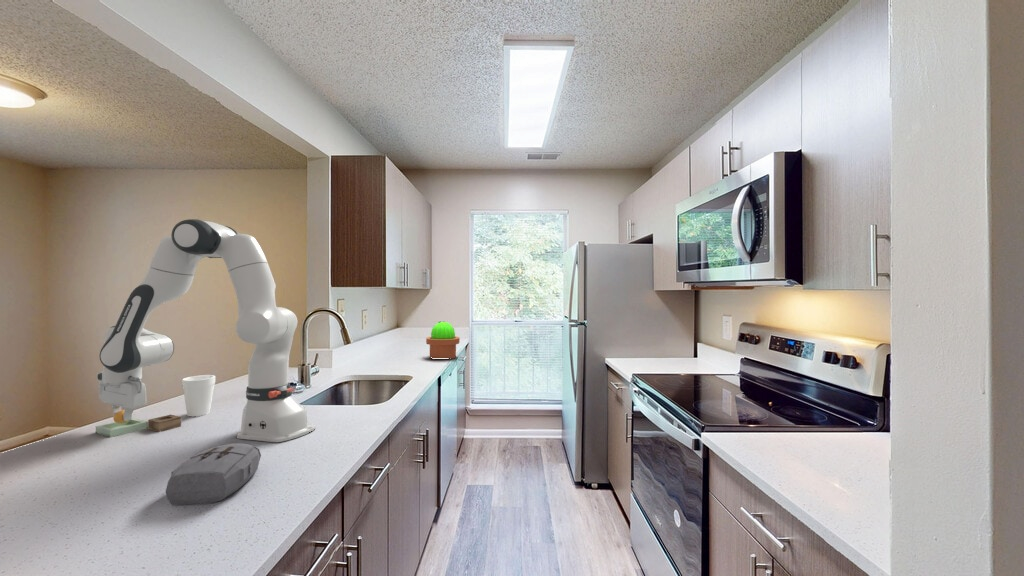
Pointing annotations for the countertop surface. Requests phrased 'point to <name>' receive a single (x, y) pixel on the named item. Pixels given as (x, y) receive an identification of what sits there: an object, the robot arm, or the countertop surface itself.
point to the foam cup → (198, 394)
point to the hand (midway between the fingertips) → (122, 418)
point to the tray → (121, 427)
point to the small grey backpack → (212, 474)
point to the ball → (119, 417)
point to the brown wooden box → (164, 423)
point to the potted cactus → (442, 341)
